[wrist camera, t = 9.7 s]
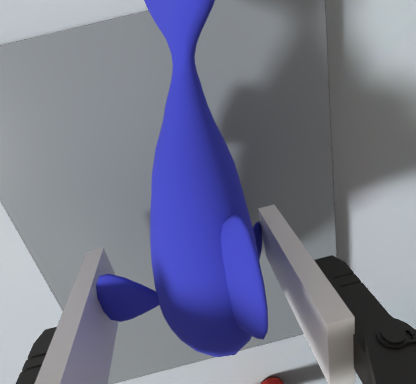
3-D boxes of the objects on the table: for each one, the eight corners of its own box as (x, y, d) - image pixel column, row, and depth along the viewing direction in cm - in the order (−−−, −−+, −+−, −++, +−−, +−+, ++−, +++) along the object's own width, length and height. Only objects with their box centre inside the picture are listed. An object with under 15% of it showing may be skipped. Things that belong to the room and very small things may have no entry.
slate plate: (310, -24, 13) (323, -31, 12) (330, 311, 22) (339, 324, 21) (-58, 63, 13) (-78, 63, 12) (108, 368, 21) (105, 385, 20)
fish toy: (245, 274, 17) (347, 376, 12) (107, 332, 14) (154, 507, 9) (239, -63, 11) (453, -192, 5) (-10, -86, 8) (-114, -435, 2)
